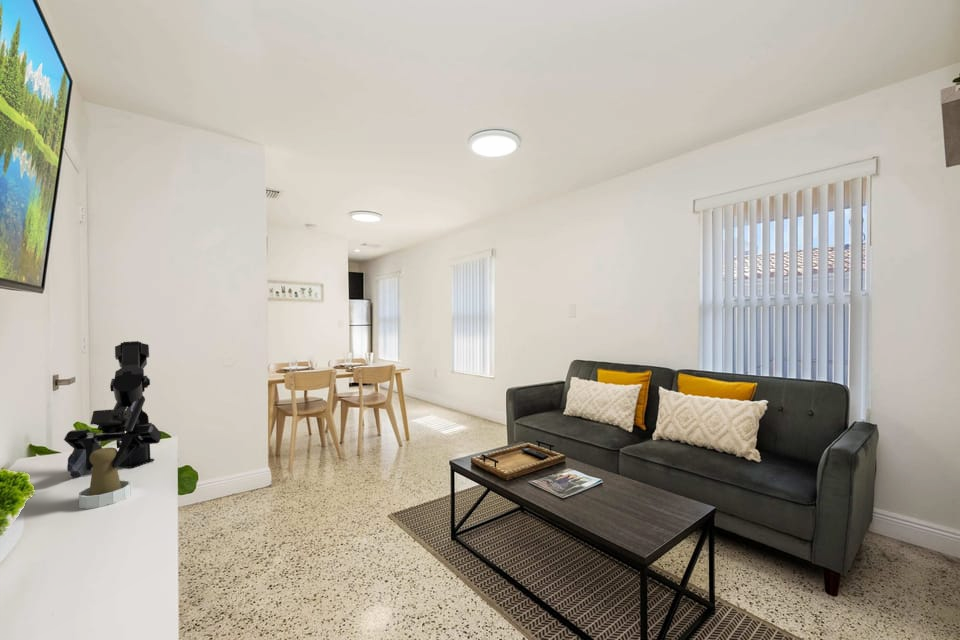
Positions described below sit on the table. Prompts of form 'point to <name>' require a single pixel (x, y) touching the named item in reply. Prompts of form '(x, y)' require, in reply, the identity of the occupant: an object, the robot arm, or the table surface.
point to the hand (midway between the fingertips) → (100, 468)
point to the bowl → (104, 496)
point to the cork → (103, 472)
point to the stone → (77, 463)
